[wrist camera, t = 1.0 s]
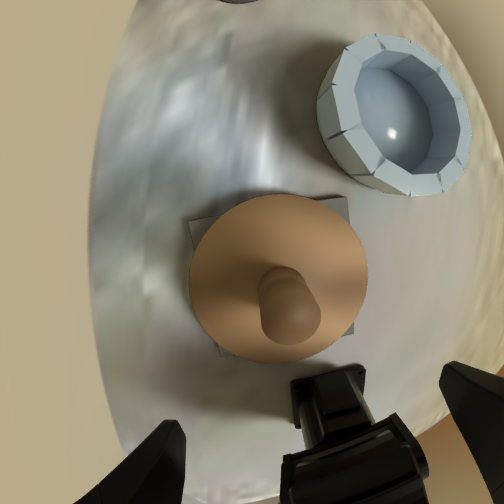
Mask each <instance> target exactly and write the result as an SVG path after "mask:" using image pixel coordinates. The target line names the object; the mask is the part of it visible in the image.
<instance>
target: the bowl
mask: <svg viewBox="0 0 504 504" xmlns="http://www.w3.org/2000/svg"><path fill="white" fill-rule="evenodd" d="M462 97H463V94H462V93H461V91H460V89H459V88H458V86H457V84H456V83H455V81H454V80H453V78H452V77H451V75H450V74H449V72H448V71H447V69H446V68H445V66H444V65H443V64H442V65H441V62H440V61H439V60H438V59H437V58H435V57H434V56H433V55H431V54H430V53H429V52H427V51H426V50H424V49H423V48H422V47H420V46H419V45H417V44H416V43H414V42H413V41H412V40H411V41H409V39H405V38H400V37H395V36H390V35H384V34H377V33H375V34H371V35H369V36H367V37H365V38H363V39H361V40H359V41H357V42H355V43H353V44H351V45H349V46H347V47H346V48H345V49H344V50H343V51H342V52H341V54H340V55H339V56H338V58H337V59H336V60H335V61H334V63H333V64H332V65H331V66H330V68H329V69H328V72H327V74H326V77H325V78H324V80H323V82H322V84H321V86H320V88H319V92H318V95H317V102H316V115H317V123H318V127H319V131H320V134H321V136H322V139H323V142H324V144H325V145H326V147H327V149H328V151H329V153H330V154H331V156H332V157H333V159H334V160H335V161H336V162H337V164H338V165H339V166H340V167H341V168H342V169H343V170H344V171H345V172H346V173H347V174H348V175H350V176H351V177H352V178H354V179H355V180H357V181H358V182H360V183H362V184H364V185H366V186H368V187H371V188H374V189H377V190H379V191H381V192H383V193H389V194H397V195H404V196H411V197H412V196H421V195H431V194H442V192H445V191H446V190H447V189H448V188H449V187H450V186H451V185H452V184H453V183H454V182H455V181H456V180H457V179H458V178H459V176H460V175H461V174H462V173H463V172H464V169H466V165H467V160H468V156H469V151H470V146H471V141H472V136H471V134H472V130H471V125H470V120H469V115H468V111H467V106H466V102H465V99H464V98H462Z"/></svg>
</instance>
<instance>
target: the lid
mask: <svg viewBox="0 0 504 504" xmlns="http://www.w3.org/2000/svg"><path fill="white" fill-rule="evenodd" d="M367 283H368V268H367V260H366V256H365V252H364V249H363V247H362V244H361V242H360V240H359V238H358V236H357V234H356V233H355V231H354V230H353V229H352V227H351V226H350V225H349V223H348V222H347V221H346V220H345V219H344V218H343V217H342V216H341V215H340V214H338V213H337V212H335V211H334V210H333V209H331V208H330V207H328V206H326V205H324V204H322V203H320V202H318V201H315V200H312V199H309V198H306V197H302V196H297V195H291V194H273V195H265V196H260V197H256V198H253V199H250V200H247V201H245V202H242V203H240V204H239V205H237V206H235V207H233V208H231V209H230V210H229V211H227V212H226V213H224V214H223V215H222V216H221V217H220V218H219V219H218V220H217V221H216V222H214V223H213V224H212V226H211V227H210V228H209V230H208V231H207V232H206V233H205V235H204V236H203V238H202V239H201V241H200V243H199V245H198V246H197V249H196V251H195V253H194V256H193V259H192V263H191V267H190V273H189V293H190V299H191V303H192V306H193V309H194V312H195V315H196V316H197V318H198V320H199V322H200V324H201V325H202V327H203V328H204V330H205V331H206V332H207V333H208V335H209V336H210V337H211V338H212V339H213V340H214V341H215V342H217V343H218V344H219V345H220V346H221V347H223V348H224V349H226V350H228V351H229V352H231V353H233V354H235V355H237V356H239V357H242V358H245V359H248V360H251V361H256V362H261V363H287V362H293V361H298V360H302V359H305V358H307V357H310V356H313V355H315V354H317V353H319V352H321V351H322V350H324V349H326V348H327V347H329V346H330V345H332V344H333V343H334V342H335V341H337V340H338V339H339V338H340V337H341V336H342V335H343V334H344V333H345V332H346V331H347V330H348V328H349V327H350V326H351V324H352V323H353V322H354V320H355V318H356V317H357V315H358V313H359V311H360V309H361V307H362V304H363V301H364V298H365V295H366V289H367Z"/></svg>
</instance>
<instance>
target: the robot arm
mask: <svg viewBox="0 0 504 504" xmlns="http://www.w3.org/2000/svg"><path fill="white" fill-rule="evenodd" d="M360 370H361V371H360ZM359 371H360V372H359ZM365 375H366V369H365V368H364V366H362V365H359V366H355V367H352V368H348V369H344V370H340V371H336V372H331V373H327V374H322V375H318V376H313V377H308V378H303V379H298V380H294V381H292V382H291V383H290V391H291V399H292V408H293V416H294V425H295V428H297V429H301V428H302V433H303V438H304V442H305V447H306V450H304V451H301V452H297V453H294V454H286V455H283V464H282V465H281V484H280V500H279V503H278V504H429V502H428V498H427V494H426V490H425V486H424V483H423V480H424V479H426V478H428V476H429V468H428V464H427V460H426V457H425V455H424V452H423V450H422V448H421V446H420V444H419V443H418V441H417V440H416V439H415V437H414V436H413V435H412V433H411V432H410V431H409V429H408V428H407V427H406V425H405V424H404V423H403V421H402V420H401V419H400V418H399V416H398V415H397V414H396V412H395V413H393V414H391V415H389V417H387V418H385V419H383V420H381V421H379V422H377V423H376V422H375V420H374V418H373V416H372V414H371V412H370V410H369V408H368V406H367V404H366V402H365V400H364V398H363V393H364V384H365ZM295 385H298V386H295ZM439 387H440V389H441V392H442V394H443V396H444V398H445V401H446V403H447V405H448V408H449V410H450V412H451V415H452V417H453V419H454V421H455V423H456V425H457V426H458V428H459V430H460V432H461V434H462V436H463V437H464V440H465V441H466V443H467V445H468V447H469V449H470V451H471V453H472V455H473V457H474V459H475V461H476V463H477V465H478V467H479V469H480V472H481V474H482V476H483V479H484V481H485V483H486V485H487V488H488V490H489V492H490V494H491V498H492V500H493V503H494V504H504V378H503V377H500V376H497V375H494V374H491V373H488V372H485V371H482V370H479V369H476V368H474V367H471V366H468V365H465V364H462V363H460V362H457V361H451V362H449V363H447V364H445V365H444V367H443V369H442V373H441V376H440V380H439ZM185 461H186V436H185V433H184V432H183V430H182V428H181V426H180V424H179V422H178V421H177V420H164V421H163V422H162V423H161V424H160V425H159V426H158V427H157V428H156V429H155V430H154V431H153V432H152V433H151V434H150V435H149V436H148V437H147V438H146V439H145V440H144V441H143V442H142V443H141V444H140V445H139V446H138V447H137V448H136V449H135V450H134V451H133V452H132V453H130V454H129V455H128V456H127V457H126V458H125V459H124V460H123V461H122V462H121V463H120V464H119V465H118V466H117V467H116V468H115V469H114V470H113V471H112V472H110V473H109V474H108V475H107V476H106V477H105V478H104V479H103V480H102V481H101V482H100V483H99V484H97V485H96V486H95V487H94V488H93V489H92V490H90V491H89V492H88V493H87V494H86V495H84V496H83V497H82V498H81V499H79V500H78V501H76V502H75V503H73V504H181V501H182V495H183V488H184V481H185Z"/></svg>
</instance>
